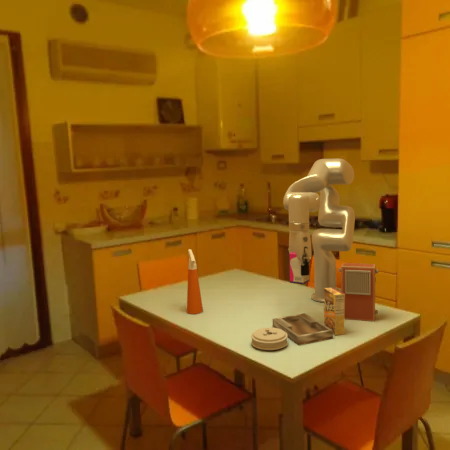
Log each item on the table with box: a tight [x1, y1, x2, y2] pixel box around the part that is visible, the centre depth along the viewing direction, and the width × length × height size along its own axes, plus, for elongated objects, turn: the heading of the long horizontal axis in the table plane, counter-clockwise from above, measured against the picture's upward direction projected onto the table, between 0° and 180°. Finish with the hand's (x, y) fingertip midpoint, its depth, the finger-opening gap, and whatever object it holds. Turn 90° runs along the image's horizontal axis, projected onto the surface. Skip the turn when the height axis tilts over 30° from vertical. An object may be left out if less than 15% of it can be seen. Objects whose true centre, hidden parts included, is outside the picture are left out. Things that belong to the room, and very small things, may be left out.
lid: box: [250, 326, 289, 351], centre depth 165 cm, size 13×13×5 cm
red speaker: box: [338, 262, 380, 322], centre depth 186 cm, size 21×7×15 cm
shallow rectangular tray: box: [272, 312, 334, 346], centre depth 175 cm, size 14×20×3 cm
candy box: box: [323, 287, 346, 336], centre depth 174 cm, size 9×4×15 cm, turn 15°
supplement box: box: [288, 252, 310, 285], centre depth 180 cm, size 6×6×12 cm
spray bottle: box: [186, 248, 204, 315], centre depth 203 cm, size 7×11×26 cm, turn 14°
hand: (299, 272), depth 180 cm, fingers closed on supplement box, 7 cm apart
